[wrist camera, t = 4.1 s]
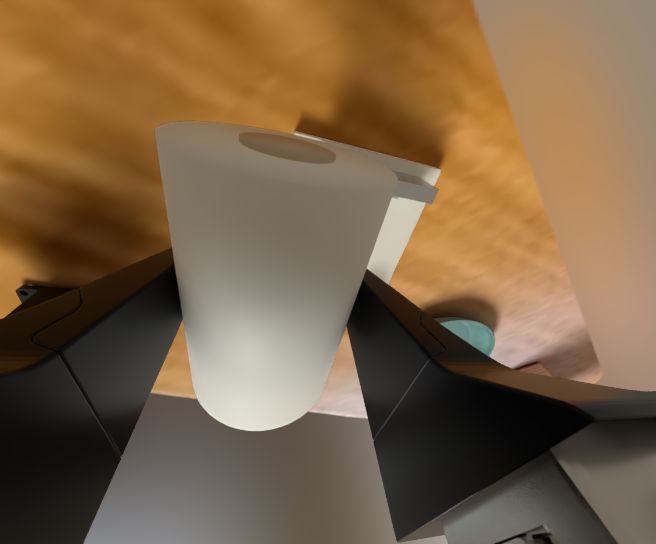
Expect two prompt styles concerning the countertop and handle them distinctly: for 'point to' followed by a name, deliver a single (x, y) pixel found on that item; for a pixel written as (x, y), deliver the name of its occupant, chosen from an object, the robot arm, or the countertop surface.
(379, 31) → the countertop surface
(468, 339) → the green round piece
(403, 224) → the holder base
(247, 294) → the paper roll
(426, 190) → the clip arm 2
